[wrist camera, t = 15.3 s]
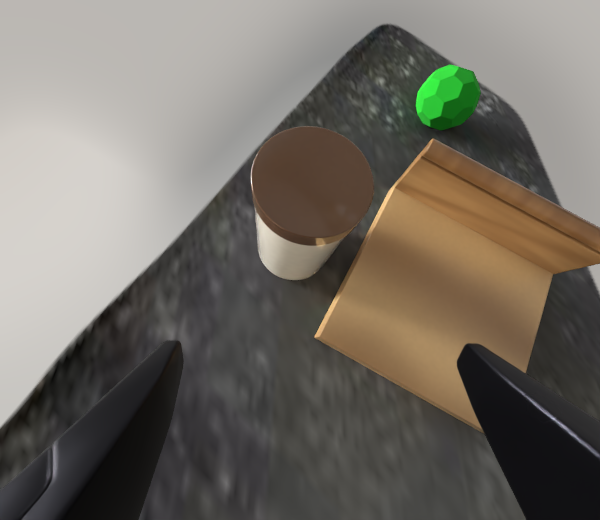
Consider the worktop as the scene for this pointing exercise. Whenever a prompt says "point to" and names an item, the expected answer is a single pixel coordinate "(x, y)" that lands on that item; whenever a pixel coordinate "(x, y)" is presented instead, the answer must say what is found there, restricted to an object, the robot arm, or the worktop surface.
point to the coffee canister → (307, 198)
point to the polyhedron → (448, 97)
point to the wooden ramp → (453, 275)
